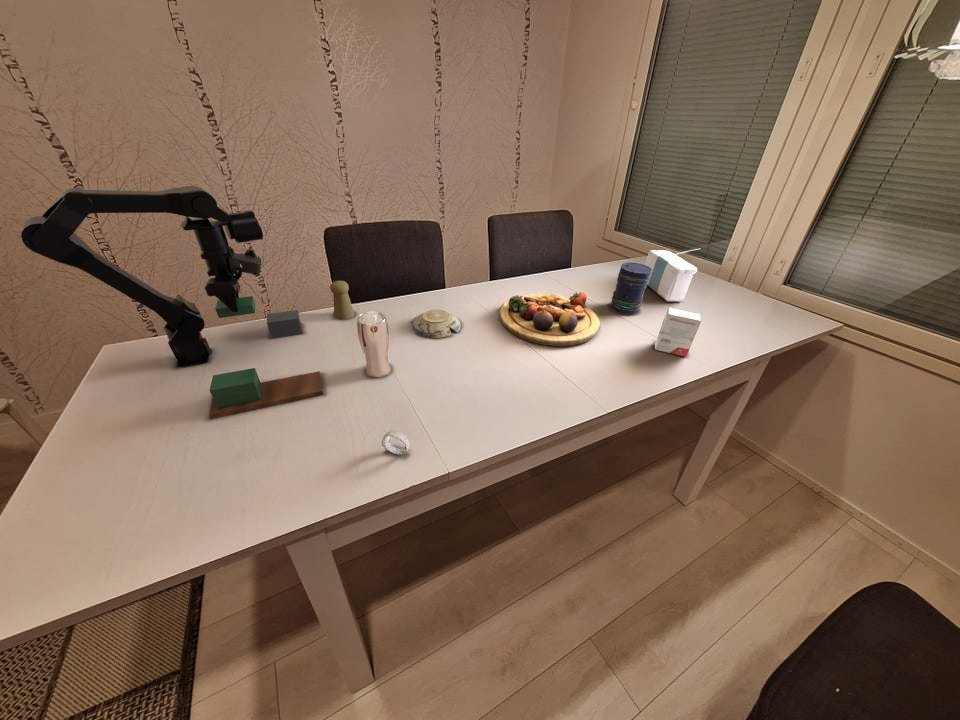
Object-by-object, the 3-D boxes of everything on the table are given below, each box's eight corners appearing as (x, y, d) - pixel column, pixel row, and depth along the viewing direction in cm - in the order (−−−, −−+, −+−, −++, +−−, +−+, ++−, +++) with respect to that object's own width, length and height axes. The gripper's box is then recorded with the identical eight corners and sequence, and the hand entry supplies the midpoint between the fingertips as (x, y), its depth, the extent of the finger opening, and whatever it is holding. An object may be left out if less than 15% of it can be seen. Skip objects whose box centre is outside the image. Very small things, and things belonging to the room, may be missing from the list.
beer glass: (367, 381, 89) (359, 327, 81) (361, 366, 94) (352, 313, 86) (396, 374, 92) (390, 321, 84) (388, 360, 97) (382, 308, 89)
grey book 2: (271, 338, 103) (269, 330, 102) (271, 329, 107) (269, 321, 106) (302, 333, 106) (300, 326, 105) (301, 324, 110) (299, 317, 109)
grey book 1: (269, 330, 102) (266, 322, 100) (269, 321, 106) (267, 313, 104) (300, 326, 105) (298, 318, 103) (299, 317, 109) (297, 309, 107)
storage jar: (641, 307, 131) (655, 266, 123) (635, 317, 124) (648, 275, 116) (614, 300, 135) (624, 260, 127) (606, 309, 128) (617, 268, 120)
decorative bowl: (426, 311, 121) (402, 331, 110) (426, 300, 119) (401, 319, 108) (468, 321, 117) (447, 343, 105) (468, 310, 115) (447, 332, 103)
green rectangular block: (218, 318, 92) (215, 309, 91) (220, 308, 96) (217, 299, 95) (255, 313, 95) (252, 304, 94) (255, 304, 99) (252, 295, 98)
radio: (638, 281, 152) (654, 231, 141) (657, 281, 153) (674, 232, 142) (665, 303, 135) (684, 249, 124) (685, 303, 136) (707, 249, 125)
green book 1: (213, 399, 76) (209, 390, 75) (217, 384, 80) (212, 374, 79) (257, 391, 79) (253, 381, 78) (258, 376, 83) (255, 367, 82)
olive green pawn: (348, 320, 113) (342, 287, 107) (330, 318, 114) (323, 284, 108) (357, 312, 118) (352, 279, 112) (340, 309, 119) (334, 277, 113)
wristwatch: (389, 443, 73) (386, 425, 71) (412, 450, 72) (410, 431, 69) (382, 454, 71) (379, 436, 68) (405, 461, 70) (403, 442, 67)
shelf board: (210, 418, 77) (208, 414, 76) (215, 395, 83) (213, 391, 82) (323, 394, 85) (322, 390, 84) (320, 375, 91) (319, 371, 90)
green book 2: (218, 408, 77) (213, 399, 76) (221, 392, 82) (217, 384, 80) (260, 400, 80) (257, 391, 79) (261, 385, 85) (258, 376, 83)
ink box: (686, 349, 109) (701, 313, 102) (686, 357, 105) (702, 321, 98) (655, 341, 112) (668, 306, 105) (654, 349, 108) (667, 313, 101)
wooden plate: (567, 296, 136) (571, 274, 132) (619, 339, 112) (627, 315, 107) (485, 304, 127) (487, 282, 122) (523, 354, 102) (526, 328, 98)
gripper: (252, 255, 82) (271, 317, 91) (254, 232, 96) (270, 288, 105) (193, 260, 78) (218, 325, 87) (203, 236, 92) (225, 294, 101)
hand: (236, 306), depth 95 cm, fingers closed on green rectangular block, 5 cm apart
